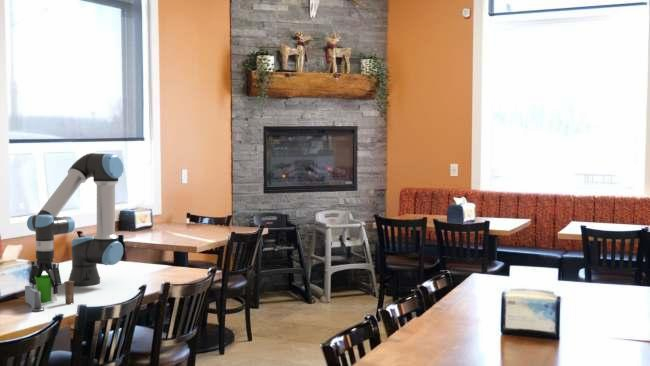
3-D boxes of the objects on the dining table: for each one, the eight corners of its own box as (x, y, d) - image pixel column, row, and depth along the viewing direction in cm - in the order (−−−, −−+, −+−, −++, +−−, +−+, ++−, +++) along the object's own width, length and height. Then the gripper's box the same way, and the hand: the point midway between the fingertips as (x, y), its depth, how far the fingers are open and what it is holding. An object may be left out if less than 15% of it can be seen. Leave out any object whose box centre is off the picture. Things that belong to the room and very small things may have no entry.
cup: (49, 303, 338) (48, 279, 337) (30, 302, 340) (30, 278, 339) (60, 299, 347) (59, 275, 346) (41, 298, 349) (41, 274, 348)
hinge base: (37, 308, 329) (37, 306, 329) (46, 309, 327) (46, 308, 327) (28, 311, 325) (28, 309, 324) (37, 312, 323) (37, 310, 322)
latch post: (69, 302, 341) (69, 280, 341) (74, 303, 340) (74, 281, 339) (64, 303, 339) (64, 281, 338) (69, 304, 337) (69, 282, 337)
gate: (41, 308, 326) (41, 291, 325) (35, 309, 324) (35, 292, 324) (29, 300, 339) (29, 285, 339) (24, 301, 338) (23, 285, 337)
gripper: (19, 249, 343) (20, 299, 344) (57, 252, 334) (58, 304, 336) (32, 246, 350) (33, 295, 351) (70, 250, 341) (70, 300, 343)
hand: (45, 299), depth 343 cm, fingers closed on cup, 9 cm apart
